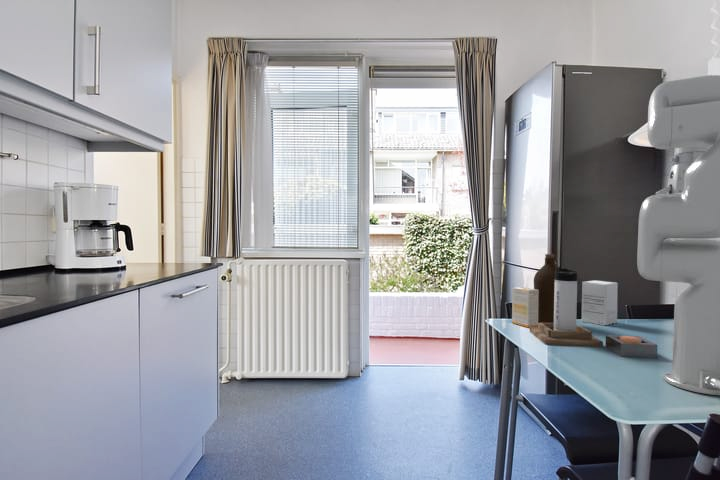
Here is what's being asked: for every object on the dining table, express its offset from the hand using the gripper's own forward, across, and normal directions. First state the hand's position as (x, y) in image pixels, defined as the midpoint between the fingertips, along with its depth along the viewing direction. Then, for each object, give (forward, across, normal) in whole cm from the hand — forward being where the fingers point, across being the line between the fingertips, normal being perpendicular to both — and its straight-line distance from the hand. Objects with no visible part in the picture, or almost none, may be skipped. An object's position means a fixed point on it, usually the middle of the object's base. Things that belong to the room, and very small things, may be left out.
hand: (688, 221), depth 119 cm
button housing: (+36, -17, -5) cm, 40 cm away
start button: (+35, -17, -5) cm, 39 cm away
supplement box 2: (+37, -8, +36) cm, 52 cm away
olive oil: (+36, -27, +32) cm, 56 cm away
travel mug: (+35, -30, +8) cm, 47 cm away
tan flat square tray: (+36, -30, +8) cm, 48 cm away
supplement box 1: (+36, -37, +26) cm, 58 cm away
